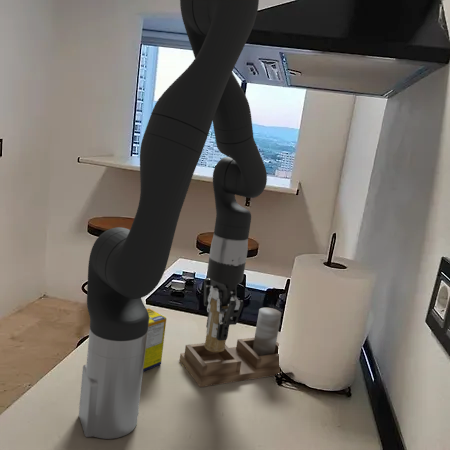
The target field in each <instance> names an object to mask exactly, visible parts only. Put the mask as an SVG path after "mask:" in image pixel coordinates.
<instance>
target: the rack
mask: <svg viewBox="0 0 450 450" xmlns="http://www.w3.org/2000/svg"><path fill="white" fill-rule="evenodd" d="M281 317H282V312H281V311H280V310H278V309H276V308H272V307H261V308H259V309H258V315H257V322H256V327H255V333H254V337H248V338H240V339H237V341H236V346H234V347H233V346H232V347H229V346H228V345H227V344H226V343H225V349H224V351H222V352H211V351H209V350H207V349H206V348H205V347H204V344H205V342H201V343H200V342H199V343H194V344H193V343H192V344H185V349H184V352H181V353H180V355H179V361H180V362H181V363H182V365H183V366H184V368H185V369H186V370H187V372H188V373H189V374H190V375H191V377H192V378H193V380H194V381H195V382H196V384H197V385H198V386H199V387H200V388H203V387H210V386H216V385H222V384H223V385H224V384H229V383H235V382H241V381H248V380H254V379H261V378H267V377H274V376H276V375H275V374H278V373H280V367H279V354H278V346H279V344H280V343H279V342H278V334H279V330H280V323H281V319H282V318H281Z"/></svg>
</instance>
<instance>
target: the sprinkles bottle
mask: <svg viewBox="0 0 450 450" xmlns="http://www.w3.org/2000/svg"><path fill="white" fill-rule="evenodd" d="M217 290H218V289H217V288H213V289H212V294H211V296H212V297H211V298H212V300H211V306H210V311H209V318H208V317H207V319H208V325H207V324H206V325H207V328H206V333H205V334H206V336H205V342H204V343H205V344H204V347H205V348H206V349H207V350H209V351H211V352H222V351H224V349H225V344H226V341H227V339H226V340H221V341H219V340H218V339H217V338H216V337H217V330H218V323H219V312H217V300H218V299H217V298H216V293H217V292H216V291H217ZM225 308H228V306H222V309H225ZM225 315H226V313H224V318H225Z"/></svg>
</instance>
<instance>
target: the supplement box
mask: <svg viewBox="0 0 450 450" xmlns="http://www.w3.org/2000/svg"><path fill="white" fill-rule="evenodd" d="M146 309H147V311H148V314H149V325H148V333H147V342H146V350H145V358H144V367H143V373H144V372H146V371H148V370H151V369H153V368H155V367H158V366H161V365H162V358H163V349H164V342H165V333H166V326H167V317H166V316H164V315H163V314H161V313H159V312H156V311H155V310H153V309H151V308H150V307H149V308H146Z"/></svg>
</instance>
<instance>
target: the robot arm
mask: <svg viewBox="0 0 450 450" xmlns="http://www.w3.org/2000/svg"><path fill="white" fill-rule="evenodd" d="M179 2H180V3H179V5H180V6H179V7H180V14H181V17H182V18H181V19H182V22H183V25H184V26H183V27H184V28H185V32H186V35H187V37H188V41H189V44H190V46H191V50H192V53H193V56H194V59H193V61H192V62H191V64H189V66H188V67H187V68H186V69H185V70H184V71H183V72H182V73H181V74H180V75H179V76H178V77H177V78H176V79H175V80H174V81H173V82H172V83H171V84H170V85H169V86H168V87H167V88H166V90H165V91H164V92H163V93H162V94H161V96H160V97H159V98H158V99H157V101H156V102H155V104H154V106H153V109H152V111H151V113H150V114H151V115H150V116H149V119H148V122H147V125H146V128H145V131H144V134H143V137H142V138H141V139H142V140H141V144H140V150H139V174H140V176H139V178H140V179H139V180H140V194H139V202H138V206H137V209H136V213H135V216H134V218H133V221H132V224H131V226H130V229H128V228H126V227H113V228H109V229H106V230H105V231H104V232H102V233H101V234H100V235H99V236H98V237H97V238H96V240H95V241H94V243H93V244H92V247H91V249H90V253H89V259H88V266H87V267H88V269H87V287H86V288H87V289H86V290H87V291H86V293H87V294H86V306H87V311H88V314H89V315H88V316H89V330H88V331H89V333H88V343H87V344H88V345H87V357H86V364H84V365H83V366H82V370H81V371H82V374H81V382H80V383H81V385H80V395H79V396H80V397H79V407H78V417H79V421H80V423H81V424H80V425H81V427H82V430H83V433H84V436H85V438H90V437H91V438H92V437H95V438H98V439H104V440H105V439H106V440H110V439H118V438H122V437H124V436H126V435H128V434H130V433H132V432H133V430H134V429H135V428H136V426H137V424H138V417H139V411H140V399H141V393H142V384H143V373H144V372H143V367H144V358H145V350H146V342H147V333H148V325H149V314H148V311H147V309H148V308H146V306H145V304H144V302H143V300H142V298H144V297H147V296H148V295H149V294H150V293H151V292H153V291H154V290H155V289H156V287H157V286H158V284H159V283H160V282H161V280H162V278H163V276H164V274H165V271H166V267H167V265H168V262H169V258H170V257H169V256H170V254H171V250H172V245H173V242H174V237H175V233H176V229H177V225H178V223H179V222H178V221H179V218H180V214H181V212H182V208H183V206H184V202H185V200H186V197H187V193H188V191H189V189H190V188H189V187H190V184H191V182H192V179H193V176H194V173H195V171H196V167H197V165H198V164H199V162H200V161H199V160H200V158H201V155H202V153H203V151H204V148H205V145H206V142H207V139H208V136H209V133H210V130H211V126H213V131H214V132H213V133H214V137H215V144H216V147H217V150H218V151H219V153H221V154H223V155H224V157H222V158H220V160H218V162H217V163H216V165H215V166H214V169H213V172H212V187H213V188H212V189H213V193H214V194H213V195H214V203H215V213H216V217H215V221H214V230H213V235H212V240H211V245H210V251H209V255H208V256H209V257H208V263H207V264H208V265H207V271H206V276H207V278H204V279H203V305H204V307H206V311H207V313H208V314H207V320H206V329H207V325H208V318H209V311H210V306H211V300H212V298H211V297H212V296H211V294H212V289H213V288H217V289H218V290H217V291H216V292H217V293H216V298H217V299H218V300H217V312H219V323H218V330H217V337H216V338H217V339H218V340H219V341H221V340H226V341H227V339H228V337H229V329H230V325H233V326H234V325H237V323H238V321H239V318H240V316H241V312H242V309H243V307H244V300H243V299H240V300H239V299H238V297H237V293H238V292H237V286H238V285H239V284H241V283H242V282H243V280H244V277H245V276H244V275H245V269H246V263H247V256H248V251H249V250H248V249H249V247H248V246H249V245H248V244H249V234H250V229H251V223H252V213H251V211H250V210H249V209H247V208H246V207H243V206H242V205H240V204H239V203H238V202H237V199H236V196H240V197H243V198H247V199H248V198H249V199H254V198H257V197H259V196H260V195H261V194H262V193H263V192H264V190H265V189H266V186H267V181H268V173H267V168H266V166H265V163H264V161H263V158H262V155H261V153H260V150H259V148H258V146H257V144H256V141H255V139H254V130H253V119H252V113H251V108H250V103H249V101H248V98H247V95H246V94H245V92H244V90H243V88H242V87H241V84H240V83H239V81H238V79H237V78H236V76H235V75H234V72H233V70H234V68H235V66H236V64H237V62H238V60H239V58H240V56H241V54H242V52H243V49H244V48H245V45H246V44H247V41H248V39H249V37H250V35H251V33H252V29H253V27H254V26H255V22H256V18H257V15H258V11H259V10H258V9H259V4H260V3H259V2H260V0H179ZM225 156H226V157H225ZM222 306H228V308H225V309H222ZM224 313H226V315H225V318H224Z"/></svg>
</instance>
